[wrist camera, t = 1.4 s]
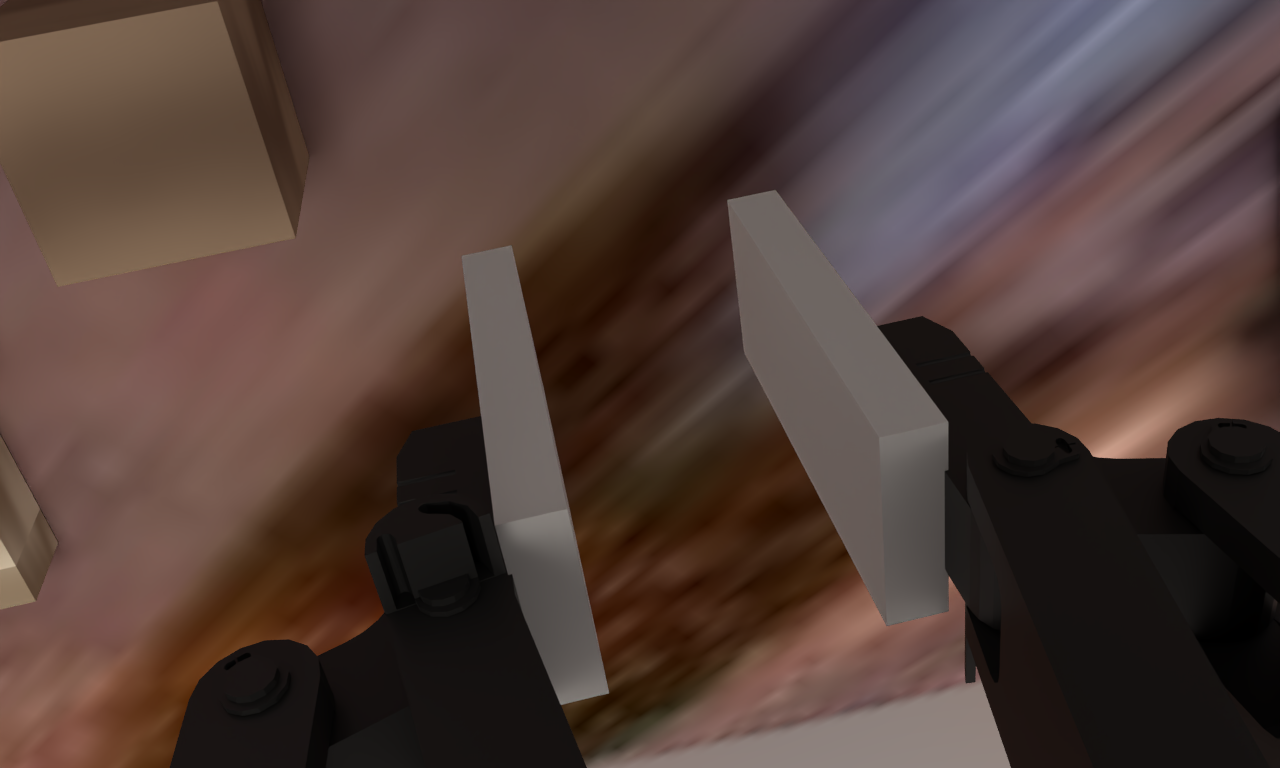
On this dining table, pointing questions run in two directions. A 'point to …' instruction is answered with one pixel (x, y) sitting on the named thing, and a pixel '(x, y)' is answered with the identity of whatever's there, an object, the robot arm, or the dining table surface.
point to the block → (146, 131)
